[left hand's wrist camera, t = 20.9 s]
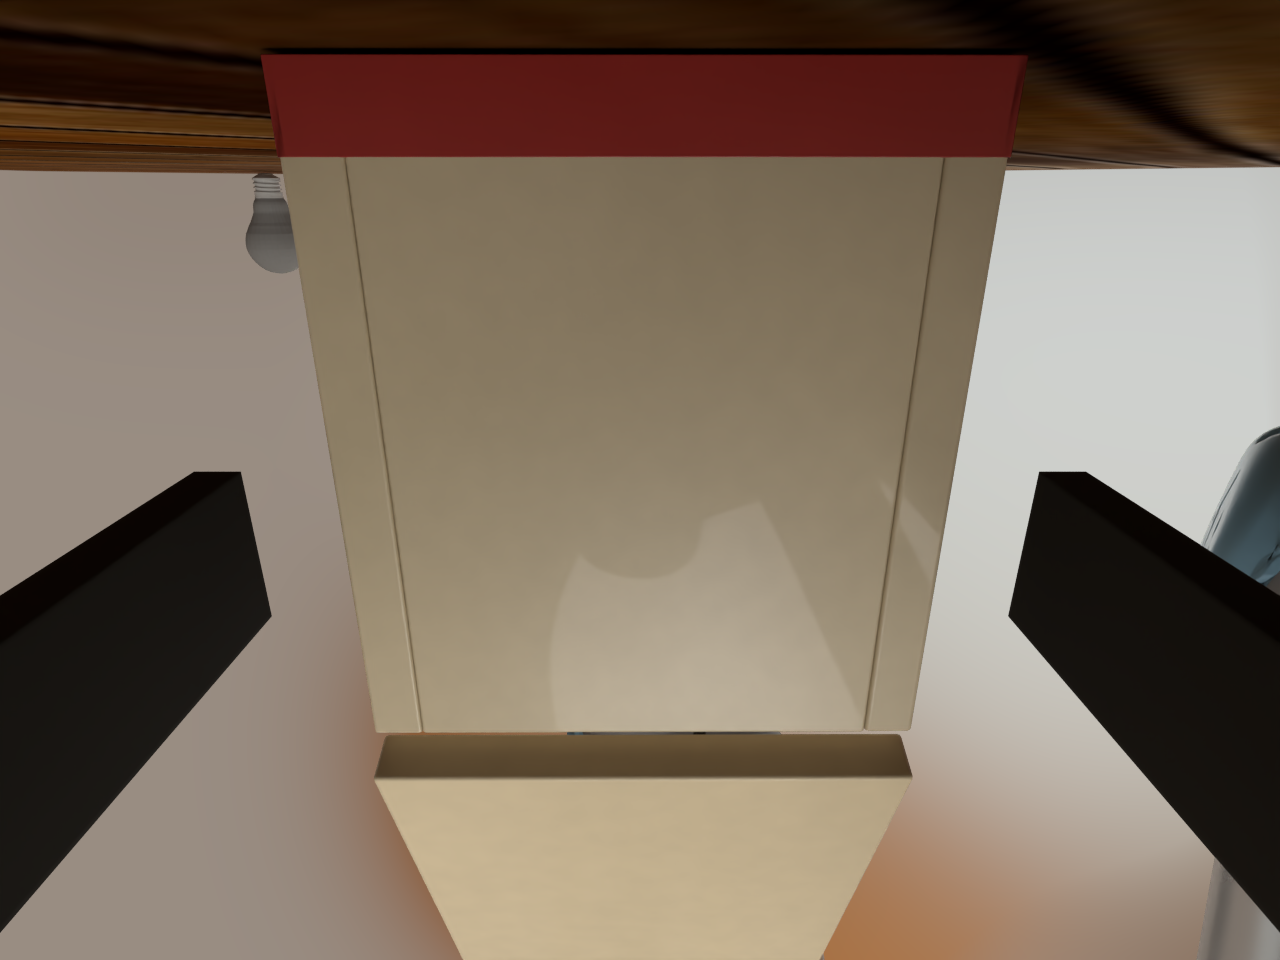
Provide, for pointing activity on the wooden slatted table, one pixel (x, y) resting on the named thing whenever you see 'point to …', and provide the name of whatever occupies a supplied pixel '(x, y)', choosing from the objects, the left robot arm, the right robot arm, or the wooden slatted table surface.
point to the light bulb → (271, 227)
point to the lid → (642, 839)
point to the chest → (643, 372)
